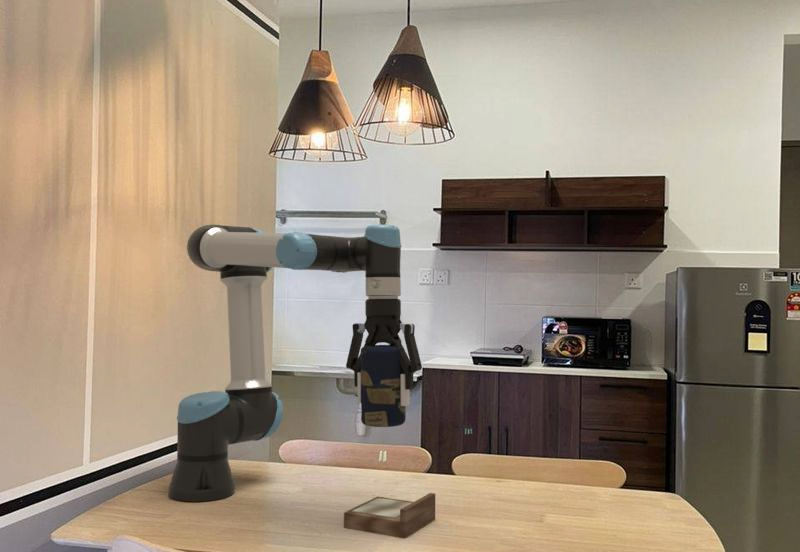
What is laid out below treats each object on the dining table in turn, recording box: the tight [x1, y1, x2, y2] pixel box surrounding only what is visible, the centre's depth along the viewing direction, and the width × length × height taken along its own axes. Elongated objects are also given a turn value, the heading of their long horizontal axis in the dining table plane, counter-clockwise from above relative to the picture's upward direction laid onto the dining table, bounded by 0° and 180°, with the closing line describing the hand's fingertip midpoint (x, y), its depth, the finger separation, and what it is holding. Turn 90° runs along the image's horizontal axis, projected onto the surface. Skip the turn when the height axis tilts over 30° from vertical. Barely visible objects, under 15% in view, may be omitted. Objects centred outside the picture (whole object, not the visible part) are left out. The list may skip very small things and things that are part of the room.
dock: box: [343, 492, 436, 539], centre depth 153 cm, size 14×14×5 cm
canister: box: [360, 341, 407, 428], centre depth 156 cm, size 10×10×18 cm
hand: (383, 403), depth 156 cm, fingers closed on canister, 10 cm apart
